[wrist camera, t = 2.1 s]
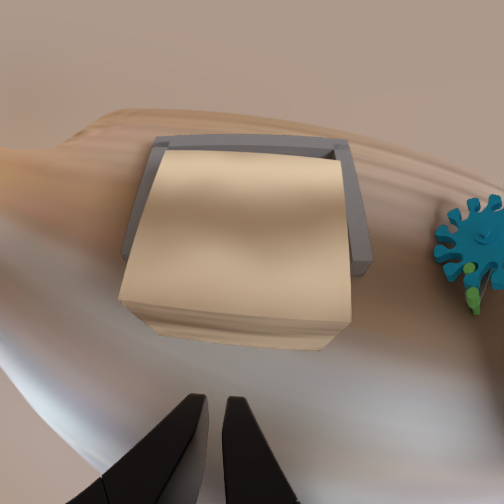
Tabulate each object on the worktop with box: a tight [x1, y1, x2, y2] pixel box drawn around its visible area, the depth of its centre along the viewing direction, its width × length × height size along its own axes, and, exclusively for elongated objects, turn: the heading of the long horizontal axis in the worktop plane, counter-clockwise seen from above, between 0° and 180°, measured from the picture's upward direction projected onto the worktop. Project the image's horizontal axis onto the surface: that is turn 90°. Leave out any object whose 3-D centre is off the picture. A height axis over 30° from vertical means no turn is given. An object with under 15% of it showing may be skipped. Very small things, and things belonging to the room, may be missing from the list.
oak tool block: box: [118, 150, 351, 351], centre depth 19 cm, size 10×11×8 cm
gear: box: [434, 194, 504, 315], centre depth 20 cm, size 11×6×10 cm
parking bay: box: [121, 134, 373, 276], centre depth 24 cm, size 12×18×2 cm
